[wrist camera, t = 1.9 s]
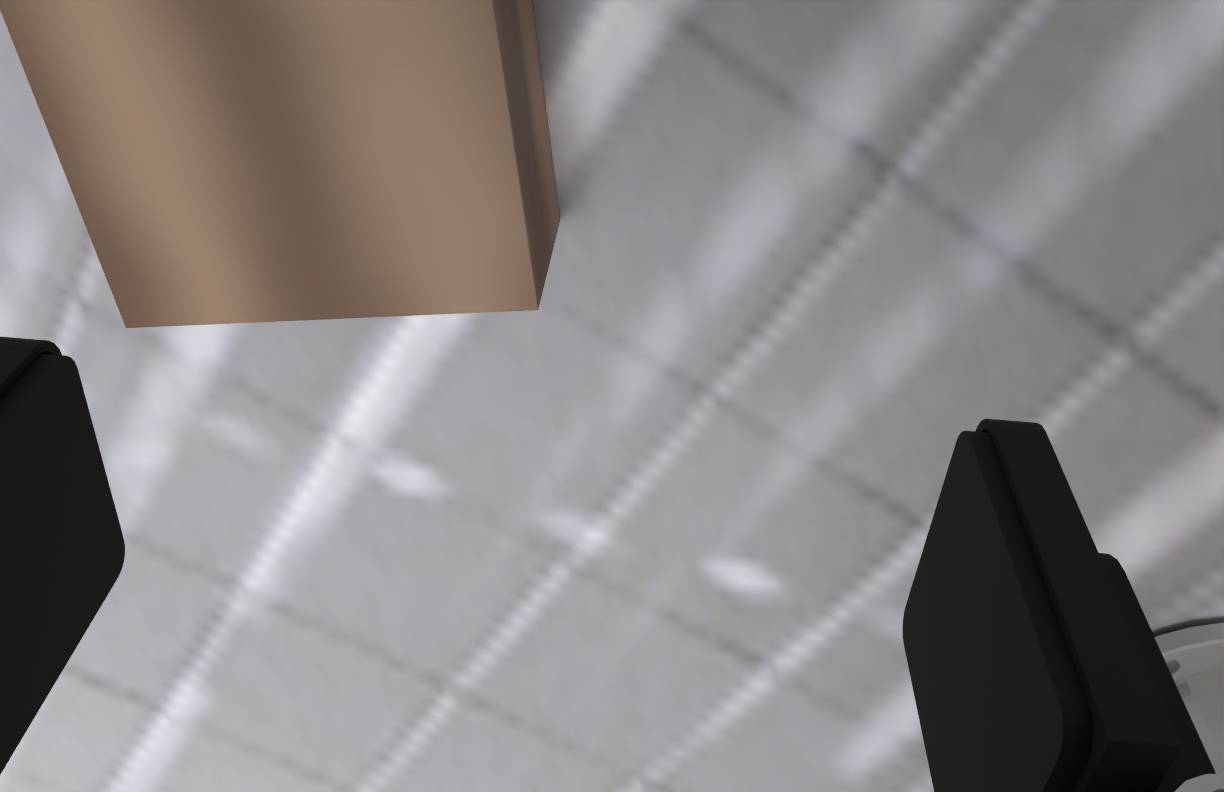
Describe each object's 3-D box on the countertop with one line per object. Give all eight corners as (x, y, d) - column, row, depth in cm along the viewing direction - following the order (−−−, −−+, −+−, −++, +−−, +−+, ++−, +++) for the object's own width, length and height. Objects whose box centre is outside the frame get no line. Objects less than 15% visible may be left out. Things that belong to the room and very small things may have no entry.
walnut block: (507, -209, 28) (466, -176, 24) (561, 215, 35) (538, 310, 30) (71, -167, 30) (-54, -127, 25) (204, 234, 36) (126, 327, 32)
